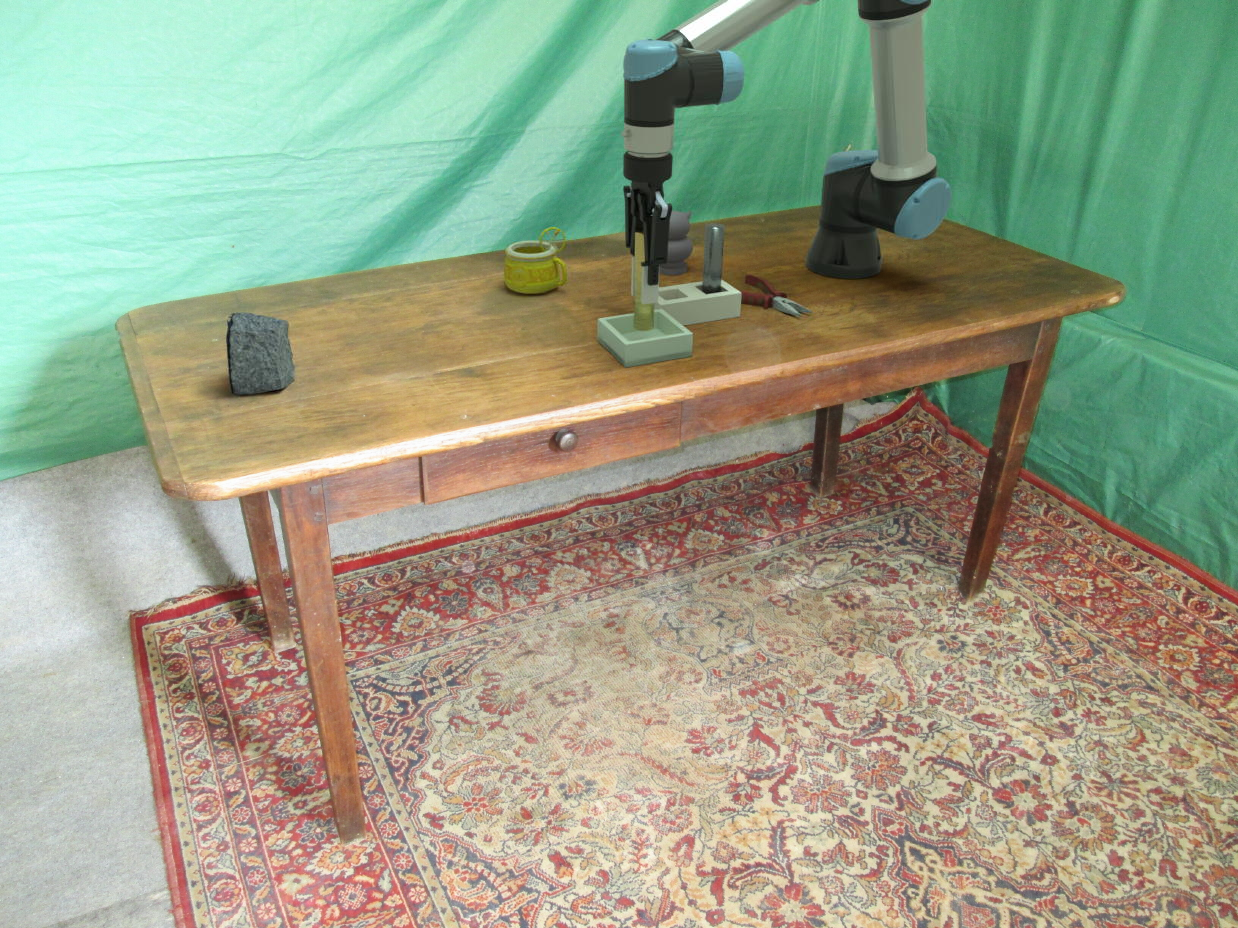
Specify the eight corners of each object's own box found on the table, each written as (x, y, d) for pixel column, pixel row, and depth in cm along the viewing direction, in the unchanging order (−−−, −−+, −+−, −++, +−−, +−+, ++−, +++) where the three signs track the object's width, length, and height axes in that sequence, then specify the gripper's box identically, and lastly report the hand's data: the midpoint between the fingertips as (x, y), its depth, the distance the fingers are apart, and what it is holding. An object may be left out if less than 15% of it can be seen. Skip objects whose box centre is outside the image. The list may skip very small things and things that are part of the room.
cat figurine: (678, 261, 205) (680, 203, 199) (699, 272, 199) (702, 213, 193) (643, 268, 201) (644, 209, 195) (664, 279, 195) (666, 219, 189)
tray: (661, 330, 173) (661, 308, 171) (691, 356, 163) (693, 333, 161) (597, 340, 169) (597, 318, 167) (625, 367, 159) (625, 344, 157)
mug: (494, 293, 188) (490, 231, 182) (520, 275, 197) (517, 216, 191) (554, 302, 184) (553, 239, 178) (578, 284, 193) (577, 223, 187)
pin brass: (648, 322, 166) (651, 228, 158) (657, 329, 163) (660, 234, 155) (630, 325, 165) (631, 230, 157) (638, 332, 162) (640, 236, 154)
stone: (221, 405, 151) (236, 361, 157) (288, 413, 152) (300, 369, 159) (214, 347, 142) (231, 303, 149) (285, 357, 144) (299, 313, 150)
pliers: (784, 327, 175) (785, 314, 174) (707, 296, 189) (707, 283, 188) (827, 313, 182) (828, 300, 180) (749, 284, 195) (750, 271, 194)
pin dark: (714, 307, 182) (719, 222, 174) (722, 314, 180) (728, 227, 172) (697, 310, 181) (701, 224, 173) (706, 316, 178) (710, 229, 170)
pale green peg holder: (719, 301, 185) (720, 278, 183) (739, 316, 179) (741, 293, 176) (641, 313, 179) (641, 290, 177) (659, 329, 173) (660, 305, 171)
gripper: (604, 142, 155) (604, 285, 167) (648, 166, 142) (644, 319, 154) (648, 139, 157) (644, 279, 169) (694, 161, 144) (687, 312, 156)
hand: (644, 298), depth 161 cm, fingers closed on pin brass, 3 cm apart
